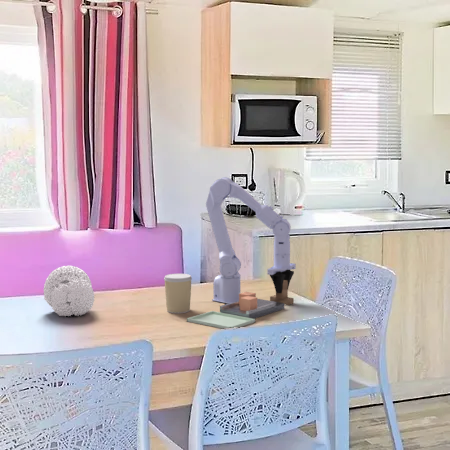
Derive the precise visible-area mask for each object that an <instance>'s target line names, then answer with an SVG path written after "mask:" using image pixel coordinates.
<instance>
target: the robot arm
mask: <svg viewBox="0 0 450 450" xmlns="http://www.w3.org/2000/svg"><path fill="white" fill-rule="evenodd" d="M227 197H228V198H235V199H238V200H239V201H241V202H242V203H244V204H245V205H246V206H247V207H248V208H249V209H251V210H252V211H254V212H255V217H256V219H258V221H260V222H261V223H262V224H263V225H264V226H266V227H267V228H268V229H270V230H272V233H273V236H274V237H273V238H274V239H273V265H272V266H271V267H269V268H267V273H266V274H267V275H269V278H271V281H272V282H273V286H274V290H275V294H276V293H282V289H283V281H284V280H288V288H289V286H290V283H291V280H292V279H293V276H294V274H295V271H294V270H296V269H297V267H296V263H291V240H290V239H291V236H290V231H291V229H292V227H291V226H292V225H291V223H290V222H289V220H288V219H286V218H284V216H283V215H279V213H277V212H276V211H275V210H274V207H273V206H272V205H270V206H269V205H268V204H261V203H260V202H259V201H258V200H256V199H255V198H254V197H253V196H252V195H251V194H250V193H249V192H248V191H247V190H245V189H244V188H243V187H242V186H241V185H240V184H239V183H237V182H235V181H233V180H232V179H231V178H229V177H227V176H225V177H221V178H219V179H216V180H215V181H214V182H213V183H212V184H211V186H210V187H209V191H208V196H207V198H206V203H205V207H206V210H207V214H208V217H209V220H210V223H211V224H210V225H211V228H212V232H213V235H214V239H215V243H216V245H217V249H218V253H219V254H218V255H219V256H218V260H219V264H220V265H219V273H220V274H218V275H217V276H215V278H214V279H213V299H211V301H212V302H218V303H224V304H229V303H232V302H236V301H239V294H240V293H241V274H240V272H239V271H240V269H241V266H242V262H241V260H240V259H239V258H238V257H237V255H236V252H235V250H234V248H233V246H232V241H231V237H230V234H229V231H228V228H227V224H226V220H225V216H224V214H223V210H222V207H221V206H222V204H223V203H224V201H225V199H226V198H227Z"/></svg>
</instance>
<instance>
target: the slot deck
mask: <svg viewBox="0 0 450 450" xmlns="http://www.w3.org/2000/svg"><path fill="white" fill-rule="evenodd" d="M282 309H283V310H285V305H284V303H280V302H274V301H270V300H269V299H261V298H257V308H254V309H251V310H248V311H243V310H240V305H239V301H236V302H232V303H224V304H222V305H219V312H221V313H226V314H231V315H237V316H242V317H247V318H252V319H255V320H256V319H257V318H260V317H263V316H267V315H271V314H274V313H276V312H280V311H282Z"/></svg>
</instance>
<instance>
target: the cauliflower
mask: <svg viewBox="0 0 450 450" xmlns="http://www.w3.org/2000/svg"><path fill="white" fill-rule="evenodd" d="M43 285H44V286H43V288H42V289H43V297H44V299H43V300H44V301H45V302H46V303H47V304H48V305H49V306H50V307H51V309H52V310H53V312H54V313H55V314H57V315H58V316H59V317H66V316H68V317H72V316H73V315H74V316H75V317H76V316H77V317H80V316H82V315H85V314H86V313H88V312H89V311H90V310H91V308H93V305H94V302H95V291H94V289H93V287H92V281H91V279H90V277H89V275H88V274H87V273H86V272H85V271H84V270H83V269H81V268H79V267H78V266H73V265H63V266H60V267H56V269H54V270H52V271H51V272H50V273H49V275H47V277H46V279H45V282H44V284H43ZM71 315H72V316H71ZM79 315H80V316H79Z"/></svg>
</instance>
